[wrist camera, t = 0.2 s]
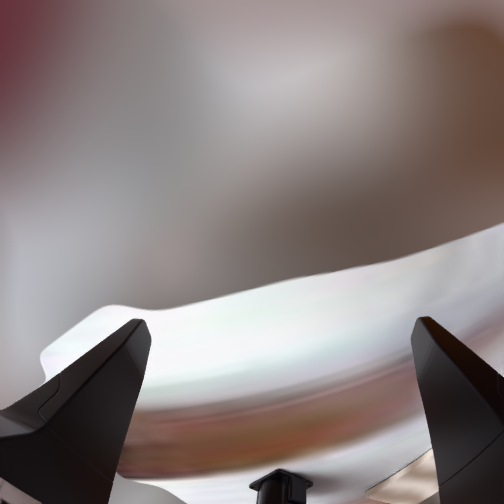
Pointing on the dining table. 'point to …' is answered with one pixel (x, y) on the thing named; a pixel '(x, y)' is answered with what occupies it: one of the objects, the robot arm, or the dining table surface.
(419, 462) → the cream and grey cloth
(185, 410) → the dining table surface
